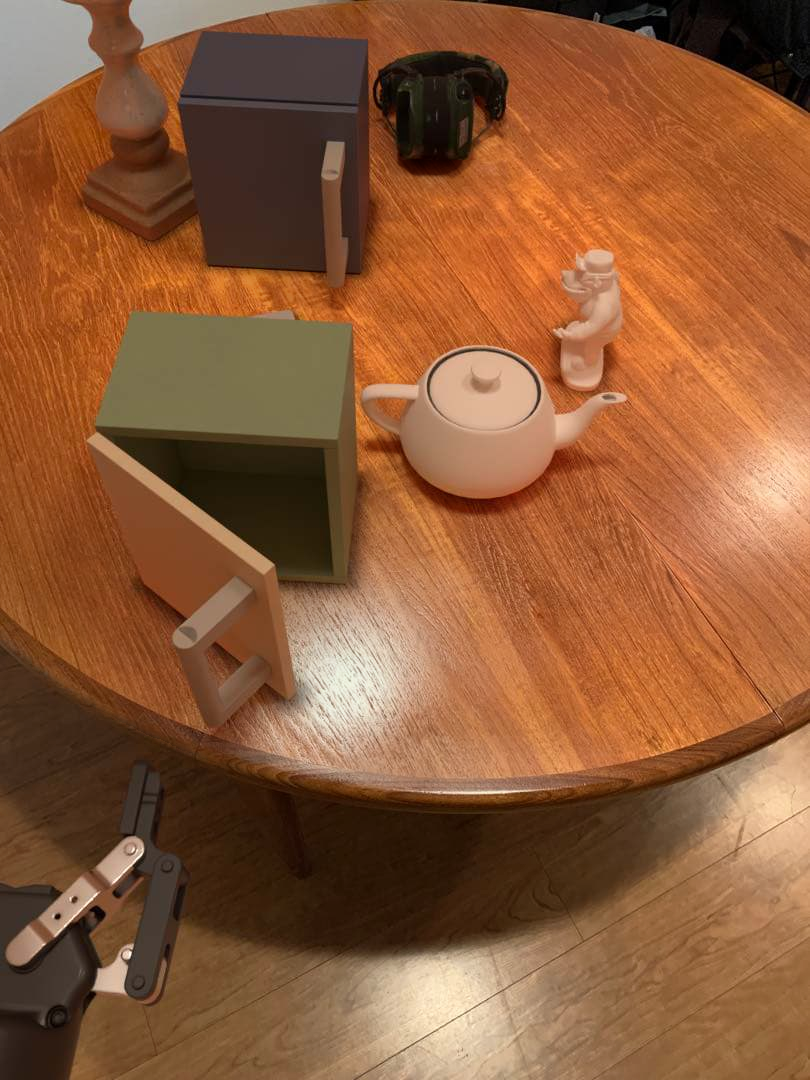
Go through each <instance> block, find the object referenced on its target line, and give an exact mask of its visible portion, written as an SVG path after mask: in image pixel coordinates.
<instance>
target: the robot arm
mask: <svg viewBox="0 0 810 1080" xmlns="http://www.w3.org/2000/svg"><path fill="white" fill-rule="evenodd" d="M166 795H167V788H166V783H165V781H164V779H163V777H162V775H161V773H160V772H159V771H158V770H157V768H156V766H155V764H154V762H153V761H152V759H148V758H147V759H146V758H135V759H134V760H133V762H132V767H131V772H130V776H129V780H128V785H127V789H126V794H125V799H124V801H123V807H122V811H121V817H120V820H119V825H118V829H117V836H119V837H120V839H121V841H120V842H119V843H118V844H116V845H115V847H114V848H113V849H112V850H111V851H110V852H109V853H108V854H106V856H104V857H103V859H102V860H101V861H100V862H99V863H98V864H96V866H94V867H93V868H92V869H88V870H86V871H85V872H83V873H82V874H81V875H79V877H77V879H75V880H74V881H73V882H72V883H71V884H70V886H69V887H67V888H66V889H65V890H64V892H62V891H61V890H59V889H57V888H56V887H55V886H54V885H53V884H52V885H51V884H38V883H37V884H36V883H35V884H29V885H24V886H20V887H14V886H11V885H9V884H5V883H2V882H0V1080H70V1079H71V1075H72V1070H73V1066H74V1061H75V1057H76V1052H77V1048H78V1043H79V1040H80V1039H79V1038H80V1034H81V1028H82V1023H83V1019H84V1016H85V1014H86V1012H87V1010H88V1008H89V1007H90V1005H91V1003H92V1002H93V1001H94V999H95V998H96V997H97V995H101V996H108V997H117V998H125V999H133V1000H134V1001H135V1002H137V1003H138V1004H140V1005H142V1006H144V1007H153V1006H155V1005H157V1004H158V1003H160V1001H161V1000H162V998H163V997H164V994H165V990H166V986H167V981H168V976H169V973H170V968H171V965H172V964H171V963H172V960H173V956H174V951H175V947H176V943H177V939H178V934H179V930H180V925H181V922H182V917H183V913H184V908H185V905H186V899H187V896H188V891H189V888H190V884H191V874H190V872H189V871H188V869H187V868H186V866H185V865H184V863H183V862H182V860H181V859H180V857H179V856H178V855H177V854H175V853H173V852H167V851H165V850H162V849H160V848H159V847H158V846H157V845H158V844H157V843H158V842H157V841H158V837H159V831H160V827H161V822H162V816H163V812H164V805H165V800H166ZM144 880H146V881H149V885H148V888H147V892H146V896H145V900H144V904H143V908H142V911H141V916H140V920H139V924H138V927H137V930H136V935H135V939H134V942H129V943H126V944H124V945H123V946H122V947H120V949H119V951H117V954H116V956H115V959H114V960H113V961H112V962H111V963H110V964H108V965H107V966H105V967H104V966H103V963H102V962H101V959H100V957H99V955H98V952H97V950H96V947H95V945H94V943H93V941H92V938H93V937H94V936H95V935H96V934H97V933H98V932H99V931H100V930H101V928H103V927H104V926H105V925H106V924H107V923H108V922H109V921H110V920H111V919H112V918H113V916H114V915H115V914H116V913H117V912H118V911H119V910H120V909H121V907H122V905H123V902H124V900H125V899H126V898H127V897H128V896H129V895H130V894H131V893H132V891H134V890H135V889H136V888H137V887H138V886H139V885H140V884H141V883H142V882H143V881H144Z"/></svg>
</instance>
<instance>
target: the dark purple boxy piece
mask: <svg viewBox="0 0 810 1080" xmlns="http://www.w3.org/2000/svg"><path fill="white" fill-rule="evenodd" d="M369 77H370V76H369V39H365V38H348V37H330V36H329V37H327V36H310V35H309V36H308V35H293V34H292V35H290V34H272V33H252V32H251V33H250V32H233V31H215V30H214V31H213V30H201V32H200V35H199V38H198V40H197V43H196V46H195V49H194V52H193V55H192V57H191V60H190V63H189V66H188V69H187V71H186V75H185V77H184V81H183V82H182V83H183V84H182V86H181V89H180V92H179V97H183V98H202V99H221V100H240V101H259V102H278V103H296V104H315V105H334V106H353V107H358V125H359V172H360V220H361V267H362V266H363V259H364V250H365V243H366V238H367V237H366V236H367V229H368V220H369V212H370V205H371V173H370V168H371V167H370V166H371V165H370V163H371V161H370V87H369V86H370V85H369V84H370V79H369Z"/></svg>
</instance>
